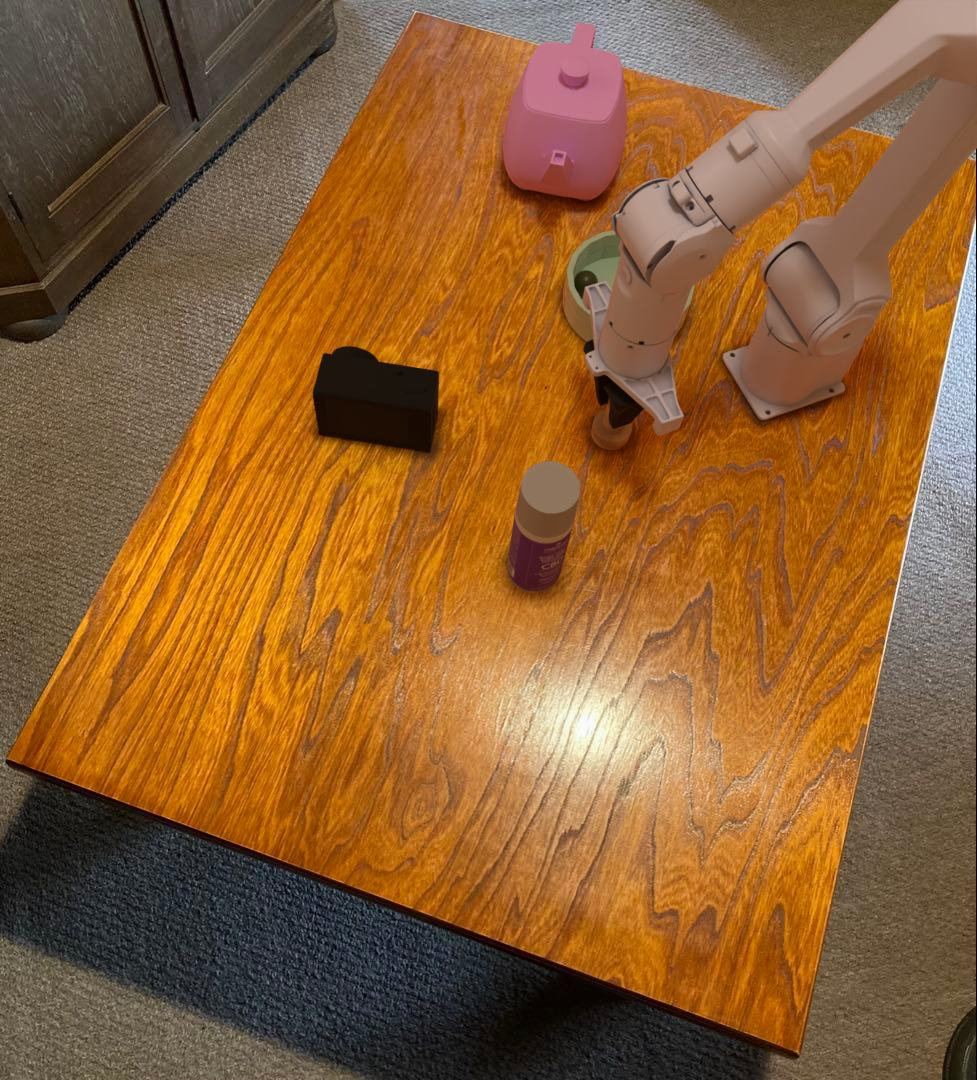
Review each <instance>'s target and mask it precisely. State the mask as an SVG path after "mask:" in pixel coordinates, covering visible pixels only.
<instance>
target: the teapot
mask: <svg viewBox="0 0 977 1080" xmlns="http://www.w3.org/2000/svg"><path fill="white" fill-rule="evenodd" d="M596 29H597V25H595V24H590V23H585V22H580V21H577V22H576V25H575V29H574V33H573V36H572V41H571V43H565V42H557V41H544V42H542V43H540V44H539V45H538V46H536V48H535V50H534V51H533V53H532V55H531V57H530V58H529V60H528V62H527V64H526V66H525V68H524V71H523V73H522V75H521V77H520V79H519V81H518V83H517V85H516V87H515V90H514V92H513V95H512V97H511V100H510V103H509V107H508V110H507V115H506V119H505V123H504V129H503V136H502V137H503V138H502V152H503V153H502V155H503V163H504V168H505V170H506V173H507V176H508V177H509V179H510V180H511V182H512V183H513V184H514V185H516V187H518V188H519V189H521V190H523V191H534V192H539V193H543V194H548V195H552V196H558V197H559V196H560V197H565V198H573V199H578V200H580V201H585V202H586V201H587V202H588V201H592V200H593V199H595V198H597V197H599V196H600V195H602V193H603V192H604V191H606V189H608V187H609V186H610V184H611V183H612V180H614V177H615V175H616V173H617V171H618V169H619V166H620V164H621V161H622V159H623V156H624V155H623V154H624V151H625V145H626V140H627V128H628V104H627V102H628V101H627V92H626V91H627V90H626V83H625V76H624V70H623V65H622V62H621V59H620V58H619V56H618V55H617V54H616V53H613V52H610V51H607V50H602V49H599V48H594V43H595V37H596V36H595V35H596Z"/></svg>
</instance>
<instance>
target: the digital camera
mask: <svg viewBox="0 0 977 1080" xmlns="http://www.w3.org/2000/svg"><path fill="white" fill-rule="evenodd" d="M439 391H440V372H439V371H438V370H434V369H428V368H421V367H417V366H416V367H415V366H409V365H402V364H397V363H390V362H384V361H380V360H379V359H378V358H377V357H376V355H375V354H373V353H371V351H368V350H366V349H364V348H362V347H358V346H351V345H344V346H340V347H337V348H336V349H334V350H333V351H332V353H327V352H323V353H322V356H321V359H320V364H319V367H318V371H317V374H316V377H315V382H314V385H313V389H312V401H313V406H314V413H315V417H316V418H315V419H316V424H317V430H318V435H320V436H325V437H332V438H336V439H337V438H338V439H344V440H350V441H356V442H363V443H369V444H375V445H381V446H386V447H387V446H388V447H394V448H400V449H406V450H413V451H419V452H425V453H431V450H432V445H433V440H434V436H435V431H436V426H437V421H438V417H439V394H440V392H439Z"/></svg>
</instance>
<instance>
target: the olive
mask: <svg viewBox="0 0 977 1080" xmlns="http://www.w3.org/2000/svg"><path fill="white" fill-rule="evenodd" d="M596 283H598V279H597V277H596V275H595V274H594V273H593V272H591V271H588V270H583V271H580V272H579V273H578V274H577V275H576V276H575V278H574V285H575V289H576V290H577V292H578V293H579V294H581V295H583V294H584V290H585V287H586V286H590V285H593V284H596Z"/></svg>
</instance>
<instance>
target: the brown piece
mask: <svg viewBox="0 0 977 1080" xmlns="http://www.w3.org/2000/svg"><path fill="white" fill-rule="evenodd" d="M609 410H610V400H608V403H607V404H606V408H605V409H602V410H601V411H599V412H598V413H597V414H596V415H595V417H594V419H593V421H592V426H591V430H590V434H591V435H590V436H591V438H592V440H593V442H594V443H595V444H596V445H597V446H598V447H600V448H602V449H604V450H608V451H616V450H620V449H622V448H624V447H625V446H626V445H627V444H628V442H629V441H630V438H631V435H632V431H633V422H632V423H630V424H627V425H624V426H621V427H618V428H615V429H613V428H612V427H611V425H610V423H609Z"/></svg>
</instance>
